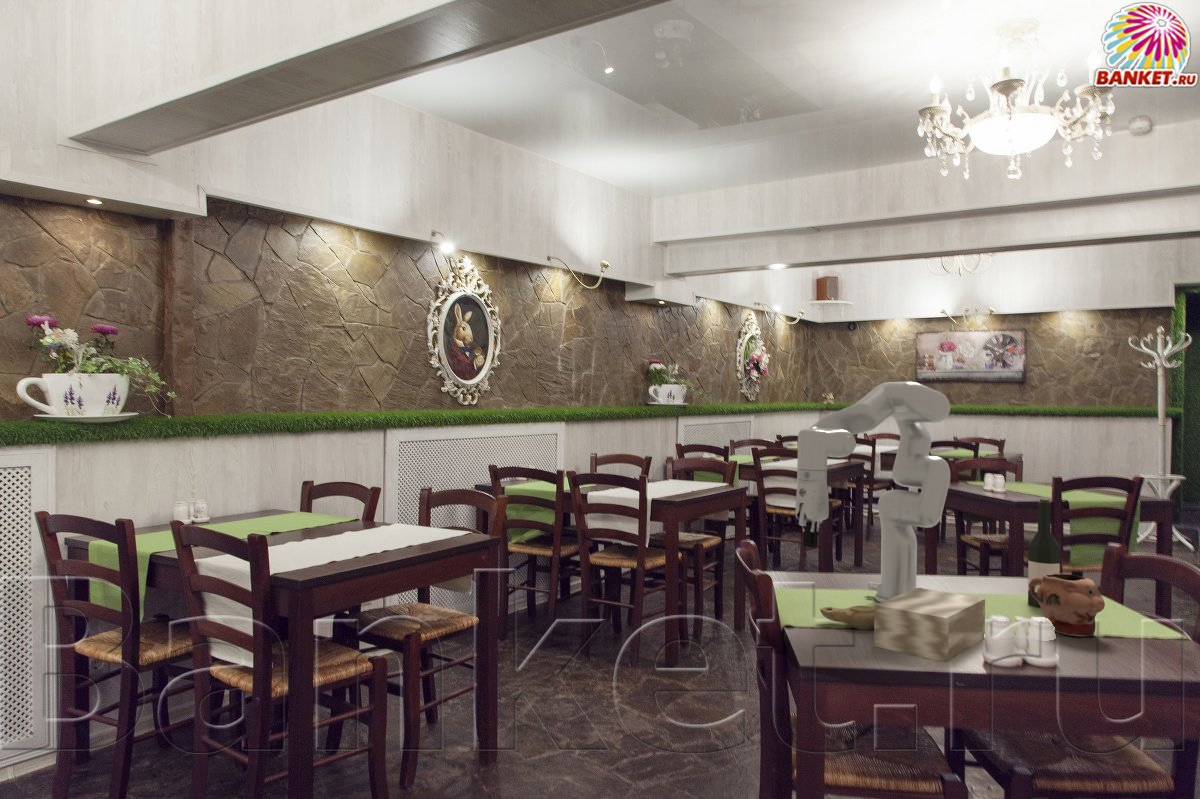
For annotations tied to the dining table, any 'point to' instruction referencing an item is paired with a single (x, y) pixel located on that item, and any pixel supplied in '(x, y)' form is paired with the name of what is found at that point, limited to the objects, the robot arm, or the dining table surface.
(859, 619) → the oil lamp
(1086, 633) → the animal face pitcher
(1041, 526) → the wine bottle
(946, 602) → the mottled beige box
